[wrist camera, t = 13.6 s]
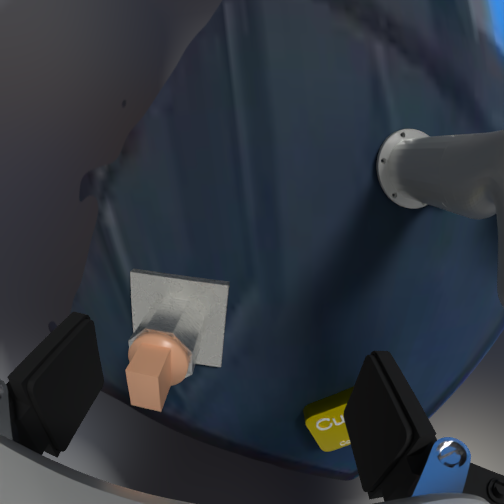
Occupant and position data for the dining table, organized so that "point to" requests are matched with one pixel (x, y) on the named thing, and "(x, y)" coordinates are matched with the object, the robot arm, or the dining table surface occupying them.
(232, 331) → the dining table surface
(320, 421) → the element tile
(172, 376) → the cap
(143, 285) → the hex socket plate
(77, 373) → the robot arm
